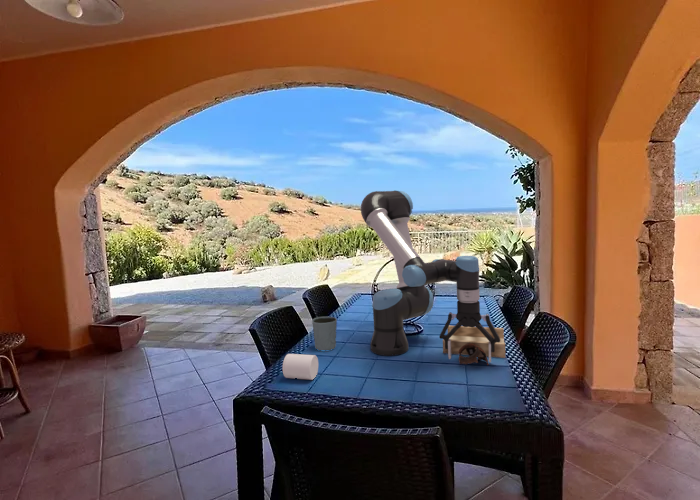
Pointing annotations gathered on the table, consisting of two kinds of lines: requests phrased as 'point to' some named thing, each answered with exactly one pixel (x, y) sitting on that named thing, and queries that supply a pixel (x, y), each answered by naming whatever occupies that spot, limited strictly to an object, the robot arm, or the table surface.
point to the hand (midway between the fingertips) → (469, 359)
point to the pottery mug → (472, 354)
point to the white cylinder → (300, 366)
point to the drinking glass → (324, 332)
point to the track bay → (475, 340)
